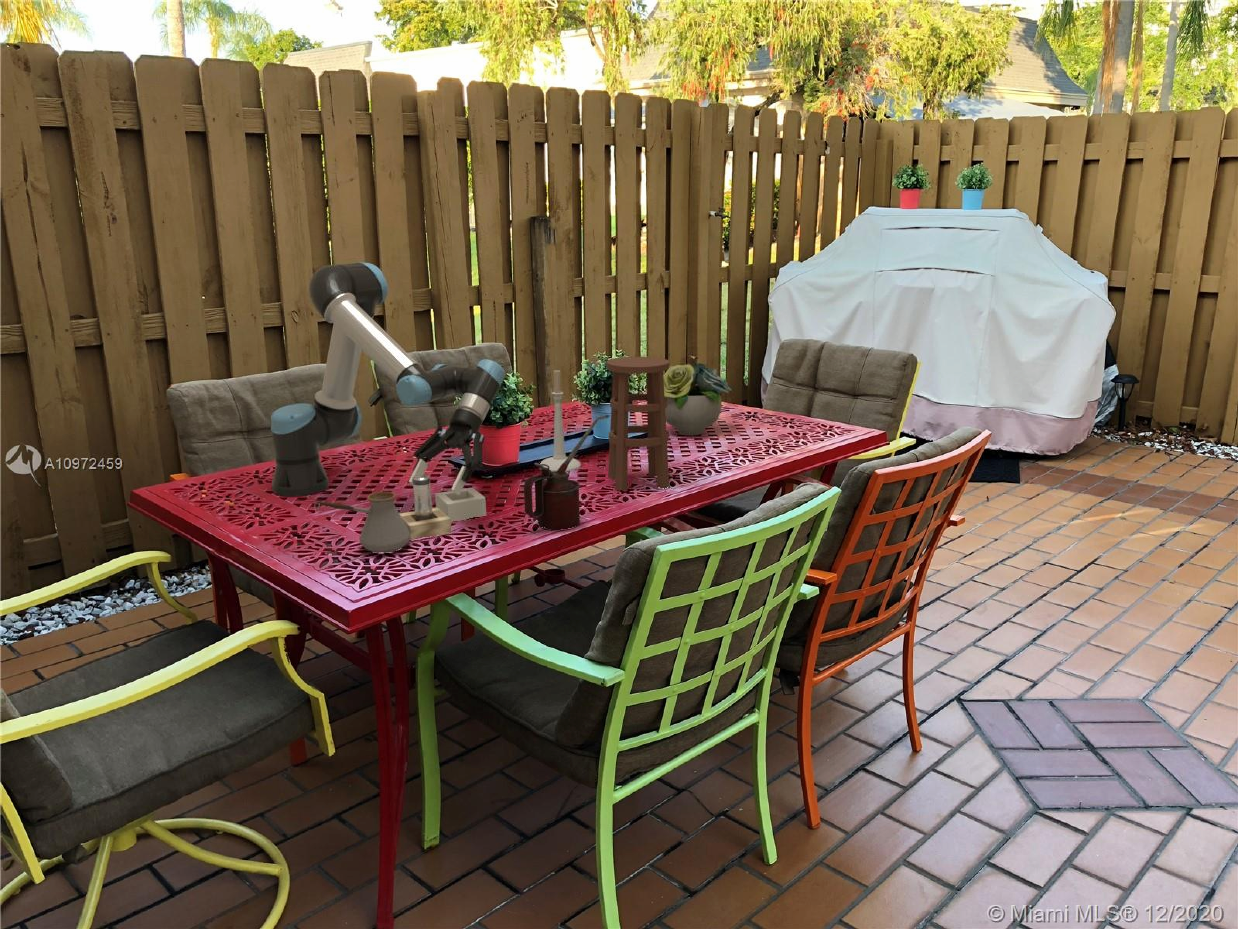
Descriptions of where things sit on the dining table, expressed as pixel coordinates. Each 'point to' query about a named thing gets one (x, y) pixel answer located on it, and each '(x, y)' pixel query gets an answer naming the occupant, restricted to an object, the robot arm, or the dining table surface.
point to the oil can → (555, 494)
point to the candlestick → (559, 432)
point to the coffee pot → (379, 523)
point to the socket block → (427, 524)
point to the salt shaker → (422, 497)
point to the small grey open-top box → (461, 504)
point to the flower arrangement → (693, 397)
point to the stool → (653, 408)
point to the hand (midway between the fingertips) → (433, 488)
